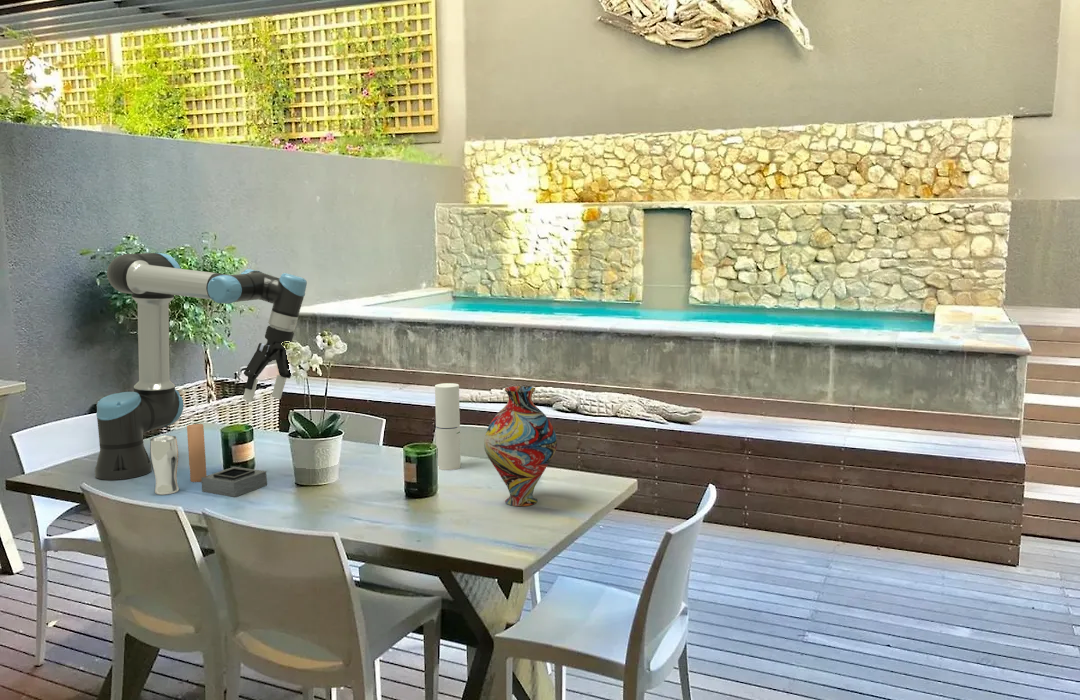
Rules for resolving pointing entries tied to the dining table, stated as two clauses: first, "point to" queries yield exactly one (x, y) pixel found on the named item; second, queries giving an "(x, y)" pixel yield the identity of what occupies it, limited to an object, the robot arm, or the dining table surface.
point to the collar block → (234, 481)
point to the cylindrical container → (448, 426)
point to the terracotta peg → (196, 452)
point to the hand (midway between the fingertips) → (262, 399)
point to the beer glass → (165, 463)
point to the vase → (520, 444)
